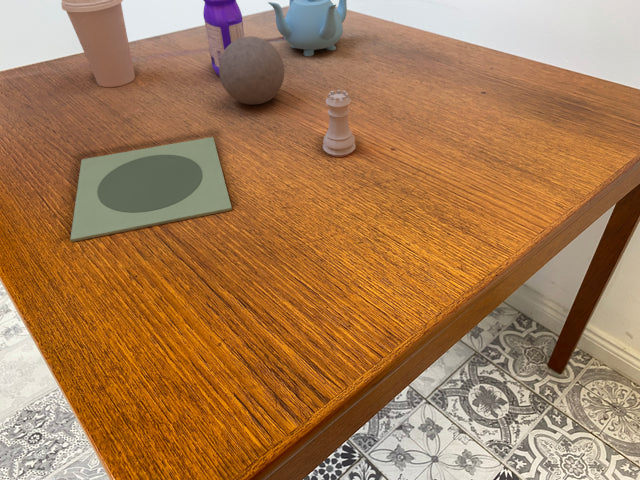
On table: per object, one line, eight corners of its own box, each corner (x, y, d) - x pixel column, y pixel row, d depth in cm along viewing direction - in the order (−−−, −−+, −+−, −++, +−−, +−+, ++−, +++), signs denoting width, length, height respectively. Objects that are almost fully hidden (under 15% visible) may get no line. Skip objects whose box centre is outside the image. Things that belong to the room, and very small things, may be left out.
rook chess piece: (351, 159, 68) (350, 103, 63) (318, 156, 69) (315, 99, 64) (359, 143, 71) (359, 88, 66) (328, 139, 72) (326, 85, 67)
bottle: (255, 75, 91) (241, -34, 80) (226, 84, 89) (207, -28, 78) (236, 63, 96) (220, -42, 85) (208, 71, 94) (188, -36, 82)
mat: (82, 161, 71) (81, 158, 70) (213, 139, 74) (213, 136, 74) (71, 242, 57) (69, 239, 57) (232, 210, 61) (231, 207, 60)
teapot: (336, 62, 94) (335, 3, 88) (268, 57, 97) (262, 0, 91) (352, 38, 104) (352, -17, 97) (290, 34, 107) (286, -19, 100)
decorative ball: (268, 83, 88) (261, 22, 82) (298, 103, 82) (293, 39, 75) (214, 99, 84) (202, 37, 78) (242, 122, 78) (232, 56, 71)
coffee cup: (78, 82, 92) (45, -8, 83) (124, 65, 98) (99, -22, 88) (107, 95, 87) (76, 1, 78) (154, 77, 93) (131, -14, 83)
